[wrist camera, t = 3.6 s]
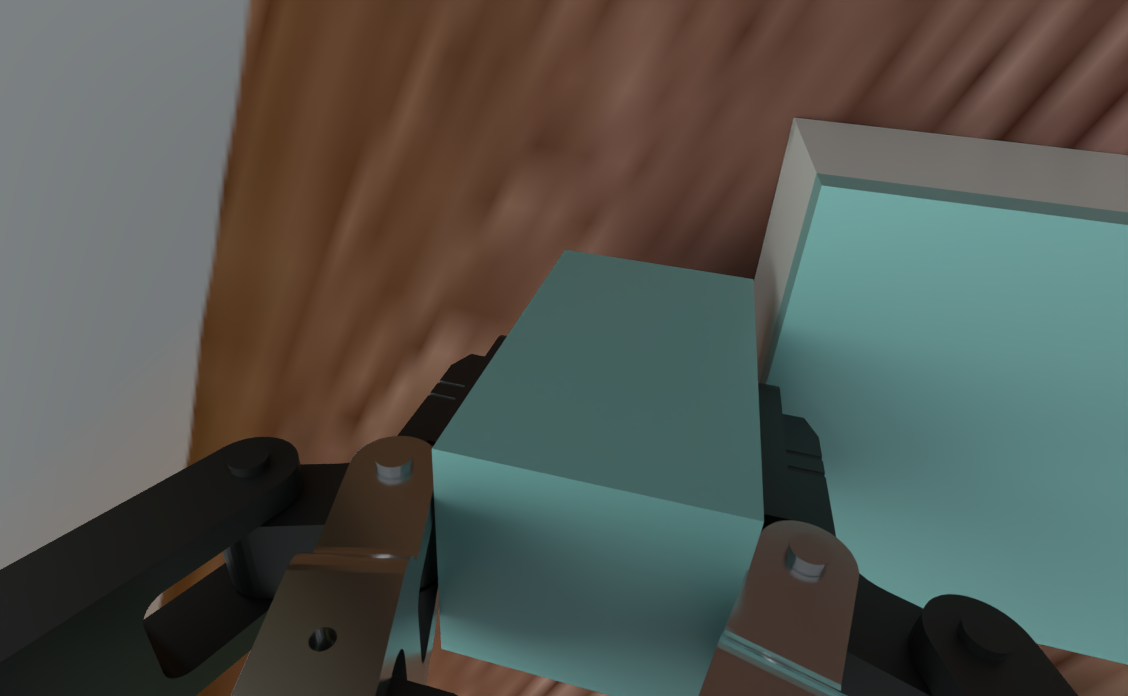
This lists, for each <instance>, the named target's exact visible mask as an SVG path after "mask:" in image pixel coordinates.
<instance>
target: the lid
mask: <svg viewBox="0 0 1128 696" xmlns="http://www.w3.org/2000/svg"><path fill="white" fill-rule="evenodd" d="M760 383H763V384H769V385H774V386H779V388H780V394H781V404H782V414H787V415H792V416H797V417H802V418H805V420H806V421H807V422H808V424H809V425H810V426H811V428H812V429H813V430H814V432H815V433H816V434H817V435H818V437H819V441H820V447H821V453H822V461H823V464H824V470H825V476H824V477H826V481H827V487H828V493H829V499H830V504H831V510H832V516H833V522H834V527H835V533H836V538H838V539H839V540H840V541H841V542H842V543H843V544H844V545H845V546H846V547H847V548H848V549H849V550H850V551H851V553H852V555H853V556H854V558H855V560H856V562H857V565H858V569H859V573H860V574H861V575H862V576H864V577H865V578H866V579H868V580H869V581H870V582H872V583H874V584H875V585H877V586H878V587H880V588H882V589H884V590H886V591H888V592H890V593H892V594H894V595H896V596H898V597H900V598H902V599H905V600H907V601H909V602H911V603H913V604H915V605H917V606H919V607H921V608H924V606H925V605H926V604H927V602H928V601H929V600H931V599H932V598H934V597H936V596H939V595H945V594H957V595H963V596H968V597H971V598H975V599H978V600H980V601H982V602H985V603H987V604H989V605H991V606H993V607H995V608H997V609H998V610H1000V611H1001V612H1003V613H1005V614H1006V615H1008V616H1009V617H1010V618H1011V619H1013V620H1014V621H1015V622H1017V623H1018V624H1019V625H1020V626H1021V627H1022V628H1023V629H1024V630H1025V631H1026V632H1027V633H1028V634H1029V635H1030V637H1031V638H1032V639H1033V640H1034V641H1035V643H1037V644H1042V645H1046V646H1050V647H1054V648H1059V649H1063V650H1067V651H1071V652H1076V653H1080V654H1084V655H1088V656H1093V657H1097V658H1101V659H1105V660H1110V661H1114V662H1118V663H1122V664H1127V665H1128V212H1120V211H1112V210H1104V209H1096V208H1088V207H1080V206H1072V205H1064V204H1057V203H1049V202H1041V201H1033V200H1025V199H1017V198H1009V197H1001V196H993V195H986V194H978V193H970V192H962V191H954V190H946V189H938V188H930V187H922V186H914V185H907V184H899V183H891V182H883V181H875V180H867V179H859V178H851V177H843V176H836V175H828V174H820V173H817V174H816V177H815V181H814V185H813V188H812V192H811V196H810V199H809V203H808V207H807V210H806V214H805V218H804V221H803V225H802V229H801V232H800V236H799V240H798V243H797V247H796V251H795V254H794V258H793V262H792V265H791V269H790V273H789V276H788V280H787V284H786V287H785V291H784V295H783V298H782V302H781V306H780V309H779V313H778V317H777V320H776V324H775V328H774V331H773V335H772V339H771V342H770V346H769V350H768V353H767V357H766V361H765V364H764V368H763V372H762V375H761V379H760ZM432 464H433V485H434V506H435V526H436V547H437V568H438V588H439V609H440V630H441V649H444V650H448V651H451V652H455V653H459V654H462V655H466V656H469V657H473V658H477V659H480V660H484V661H487V662H491V663H495V664H498V665H502V666H506V667H509V668H513V669H516V670H520V671H524V672H527V673H531V674H534V675H538V676H542V677H545V678H549V679H552V680H556V681H560V682H563V683H567V684H571V685H574V686H578V687H581V688H585V689H589V690H592V691H596V692H599V693H603V694H607V695H610V696H699V693H700V690H701V688H702V685H703V682H704V680H705V677H706V674H707V671H708V669H709V666H710V663H711V661H712V658H713V655H714V652H715V650H716V647H717V645H718V642H719V639H720V637H721V635H722V634H723V633H724V630H725V627H726V625H727V622H728V619H729V616H730V614H731V611H732V608H733V605H734V603H735V600H736V597H737V595H738V592H739V589H740V586H741V584H742V581H743V578H744V576H745V573H746V570H749V567H750V564H751V561H752V558H753V555H754V552H755V549H756V546H757V543H758V539H759V536H760V533H761V530H762V527H763V524H764V507H763V484H762V461H761V439H760V416H759V393H758V370H757V348H756V325H755V302H754V279H749V278H743V277H736V276H730V275H724V274H717V273H711V272H704V271H698V270H692V269H685V268H679V267H673V266H666V265H660V264H653V263H647V262H641V261H634V260H628V259H621V258H615V257H609V256H602V255H596V254H590V253H583V252H577V251H570V250H565V251H564V252H563V254H562V255H561V257H560V258H559V260H558V261H557V263H556V264H555V266H554V267H553V269H552V270H551V272H550V273H549V275H548V276H547V278H546V279H545V281H544V282H543V283H542V285H541V286H540V288H539V289H538V291H537V292H536V294H535V295H534V297H533V298H532V300H531V301H530V303H529V304H528V306H527V307H526V309H525V310H524V312H523V313H522V315H521V316H520V318H519V319H518V321H517V322H516V324H515V325H514V327H513V328H512V330H511V331H510V333H509V334H508V336H507V337H506V339H505V340H504V342H503V343H502V345H501V346H500V348H499V349H498V351H497V352H496V354H495V355H494V357H493V358H492V360H491V361H490V363H489V364H488V365H487V367H486V368H485V370H484V371H483V373H482V374H481V376H480V377H479V379H478V380H477V382H476V383H475V385H474V386H473V388H472V389H471V391H470V392H469V394H468V395H467V397H466V398H465V400H464V401H463V403H462V404H461V406H460V407H459V409H458V410H457V412H456V413H455V415H454V416H453V418H452V419H451V421H450V422H449V424H448V425H447V427H446V428H445V430H444V431H443V433H442V434H441V436H440V437H439V439H438V440H437V442H436V443H435V445H434V446H433V447H432Z"/></svg>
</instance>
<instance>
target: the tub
mask: <svg viewBox="0 0 1128 696" xmlns="http://www.w3.org/2000/svg"><path fill="white" fill-rule="evenodd" d="M817 173H820V174H828V175H836V176H843V177H851V178H859V179H867V180H875V181H883V182H891V183H899V184H907V185H914V186H922V187H930V188H938V189H946V190H954V191H962V192H970V193H978V194H986V195H993V196H1001V197H1009V198H1017V199H1025V200H1033V201H1041V202H1049V203H1057V204H1064V205H1072V206H1080V207H1088V208H1096V209H1104V210H1112V211H1120V212H1128V155H1121V154H1112V153H1103V152H1095V151H1086V150H1077V149H1068V148H1059V147H1050V146H1041V145H1033V144H1024V143H1015V142H1006V141H997V140H988V139H980V138H971V137H962V136H953V135H944V134H935V133H926V132H918V131H909V130H900V129H891V128H882V127H873V126H865V125H856V124H847V123H838V122H829V121H820V120H812V119H803V118H794V119H793V123H792V127H791V131H790V135H789V139H788V143H787V148H786V152H785V156H784V160H783V164H782V168H781V172H780V176H779V180H778V184H777V189H776V193H775V197H774V201H773V205H772V209H771V213H770V217H769V221H768V226H767V230H766V234H765V238H764V242H763V246H762V250H761V254H760V258H759V263H758V267H757V271H756V275H755V279H754V302H755V325H756V348H757V370H758V383H760V379H761V375H762V372H763V368H764V364H765V361H766V357H767V353H768V350H769V346H770V342H771V339H772V335H773V331H774V328H775V324H776V320H777V317H778V313H779V309H780V306H781V302H782V298H783V295H784V291H785V287H786V284H787V280H788V276H789V273H790V269H791V265H792V262H793V258H794V254H795V251H796V247H797V243H798V240H799V236H800V232H801V229H802V225H803V221H804V218H805V214H806V210H807V207H808V203H809V199H810V196H811V192H812V188H813V185H814V181H815V177H816V174H817Z"/></svg>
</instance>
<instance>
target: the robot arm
mask: <svg viewBox="0 0 1128 696" xmlns="http://www.w3.org/2000/svg"><path fill="white" fill-rule="evenodd" d="M506 337H507V336H504V335H500V336H499V337H498V339H497V340H496V341H495V343H494V344H493V346H492V347H491V349H490V350H489V352H488V353H487V354H486V356H485V357H484V356H479V355H474V354H470V355H468V356H467V357H465V358H463V359H461V360H460V361H458V362H456V363H454V364H453V365H451V366H450V368H449V369H448V370H447V372H446V373H445V374H444V375H443V377H442V378H441V379H440V383H437V385H436V386H435V387H434V389H433V390H432V391H431V394H430V396H429V395H428V396H427V398H426V399H425V400H424V402H423V403H422V404H421V406H420V407H419V408H418V410H417V411H416V412H415V413H414V415H413V416H412V417H411V419H410V420H409V421H408V423H407V424H406V425H405V427H404V428H403V429H402V430H401V432H400V433H399V434H398V436H392V437H386V438H381V439H378V440H375V441H373V442H371V443H369V444H367V445H365V446H364V447H362V448H361V449H360V450H359V451H357V452H356V454H355V455H354V456H353V457H352V459H351V461H350V463H342V464H304V465H300V461H299V456H298V452H297V450H296V448H295V447H294V446H293V445H292V444H291V443H289V442H287V441H285V440H283V439H279V438H274V437H254V438H248V439H244V440H240V441H237V442H234V443H232V444H229V445H227V446H225V447H223V448H221V449H220V450H218V451H216V452H214V453H212V454H211V455H209V456H207V457H205V458H203V459H201V460H200V461H198V462H196V463H194V464H192V465H190V466H189V467H187V468H185V469H183V470H181V471H180V472H178V473H176V474H174V475H172V476H170V477H169V478H167V479H165V480H163V481H161V482H160V483H158V484H156V485H154V486H152V487H150V488H149V489H147V490H145V491H143V492H141V493H140V494H138V495H136V496H134V497H132V498H130V499H129V500H127V501H125V502H123V503H121V504H119V505H118V506H116V507H114V508H112V509H111V510H109V511H107V512H105V513H103V514H101V515H99V516H98V517H96V518H94V519H92V520H90V521H88V522H87V523H85V524H83V525H81V526H79V527H78V528H76V529H74V530H72V531H70V532H69V533H67V534H65V535H63V536H61V537H59V538H58V539H56V540H54V541H52V542H50V543H48V544H47V545H45V546H43V547H41V548H39V549H38V550H36V551H34V552H32V553H30V554H28V555H27V556H25V557H23V558H21V559H19V560H17V561H16V562H14V563H12V564H10V565H8V566H7V567H5V568H3V569H1V570H0V696H196V695H197V694H198V693H199V692H201V691H202V690H203V689H204V688H205V687H207V686H208V685H209V684H210V683H211V682H213V681H214V680H215V679H216V678H217V677H219V676H220V675H221V674H222V673H223V672H225V671H226V670H227V669H228V668H229V667H231V666H232V665H233V664H234V663H235V662H237V661H238V660H239V659H240V658H241V657H243V656H244V655H245V654H246V653H248V652H249V651H250V650H251V651H250V653H249V656H248V658H247V660H246V662H245V665H244V667H243V669H242V672H241V674H240V676H239V678H238V681H237V683H236V685H235V687H234V690H233V692H232V694H231V696H457V695H455V694H454V693H450V692H447V691H443V690H440V689H436V688H433V687H429V686H426V682H427V675H428V669H429V663H430V657H431V651H432V646H433V640H434V634H435V628H436V622H437V617H438V611H439V588H438V568H437V547H436V526H435V506H434V485H433V464H432V447H433V446H434V445H435V443H436V442H437V440H438V439H439V437H440V436H441V434H442V433H443V431H444V430H445V428H446V427H447V425H448V424H449V422H450V421H451V419H452V418H453V416H454V415H455V413H456V412H457V410H458V409H459V407H460V406H461V404H462V403H463V401H464V400H465V398H466V397H467V395H468V394H469V392H470V391H471V389H472V388H473V386H474V385H475V383H476V382H477V380H478V379H479V377H480V376H481V374H482V373H483V371H484V370H485V368H486V367H487V365H488V364H489V363H490V361H491V360H492V358H493V357H494V355H495V354H496V352H497V351H498V349H499V348H500V346H501V345H502V343H503V342H504V340H505V339H506ZM758 393H759V416H760V439H761V461H762V484H763V507H764V524H763V527H762V530H761V533H760V536H759V539H758V543H757V546H756V549H755V552H754V555H753V558H752V561H751V564H750V567H749V570H746V573H745V576H744V578H743V581H742V584H741V586H740V589H739V592H738V595H737V597H736V600H735V603H734V605H733V608H732V611H731V614H730V616H729V619H728V622H727V625H726V627H725V630H724V633H723V634H722V635H721V637H720V639H719V642H718V645H717V647H716V650H715V652H714V655H713V658H712V661H711V663H710V666H709V669H708V671H707V674H706V677H705V680H704V682H703V685H702V688H701V690H700V693H699V696H1078V695H1077V694H1076V693H1075V691H1074V690H1073V689H1072V688H1071V686H1070V685H1069V684H1068V683H1067V681H1066V680H1065V679H1064V678H1063V676H1062V675H1061V674H1060V673H1059V671H1058V670H1057V669H1056V668H1055V666H1054V665H1053V664H1052V663H1051V661H1050V660H1049V659H1048V658H1047V656H1046V655H1045V654H1044V653H1043V651H1042V650H1041V649H1040V648H1039V646H1038V645H1037V644H1036V643H1035V641H1034V640H1033V639H1032V638H1031V637H1030V635H1029V634H1028V633H1027V632H1026V631H1025V630H1024V629H1023V628H1022V627H1021V626H1020V625H1019V624H1018V623H1017V622H1015V621H1014V620H1013V619H1011V618H1010V617H1009V616H1008V615H1006V614H1005V613H1003V612H1001V611H1000V610H998V609H997V608H995V607H993V606H991V605H989V604H987V603H985V602H982V601H980V600H978V599H975V598H971V597H968V596H963V595H957V594H945V595H939V596H936V597H934V598H932V599H931V600H929V601H928V602H927V604H926V605H925V606H924V608H921V607H919V606H917V605H915V604H913V603H911V602H909V601H907V600H905V599H902V598H900V597H898V596H896V595H894V594H892V593H890V592H888V591H886V590H884V589H882V588H880V587H878V586H877V585H875V584H874V583H872V582H870V581H869V580H868V579H866V578H865V577H864V576H862V575H861V574H860V573H859V569H858V565H857V562H856V560H855V558H854V556H853V555H852V553H851V551H850V550H849V549H848V548H847V547H846V546H845V545H844V544H843V543H842V542H841V541H840V540H839V539H838V538H836V533H835V527H834V522H833V516H832V510H831V504H830V499H829V493H828V487H827V481H826V477H824V476H825V470H824V464H823V461H822V453H821V447H820V441H819V437H818V435H817V434H816V433H815V432H814V430H813V429H812V428H811V426H810V425H809V424H808V422H807V421H806V420H805V418H802V417H797V416H792V415H787V414H782V404H781V394H780V388H779V386H774V385H769V384H763V383H758ZM222 551H223V554H224V558H225V561H226V563H225V564H223V565H222V566H220V567H219V568H217V569H216V570H215V571H213V572H212V573H210V574H209V575H207V576H206V577H204V578H203V579H202V580H200V581H199V582H197V583H196V584H194V585H193V586H192V587H190V588H189V589H187V590H186V591H184V592H183V593H181V594H180V595H179V596H177V597H176V598H174V599H173V600H171V601H170V602H169V603H167V604H166V605H164V606H163V607H161V608H160V609H159V610H157V611H156V612H154V613H153V614H151V615H150V616H149V617H147V618H146V619H144V616H145V613H146V611H147V609H148V607H149V606H150V604H151V603H152V602H153V601H154V600H155V599H156V598H157V597H158V596H159V595H160V594H161V593H162V592H164V591H165V590H166V589H168V588H169V587H171V586H172V585H174V584H175V583H177V582H178V581H180V580H181V579H183V578H184V577H186V576H187V575H189V574H190V573H192V572H193V571H194V570H196V569H197V568H199V567H200V566H202V565H203V564H205V563H206V562H208V561H209V560H211V559H212V558H214V557H215V556H217V555H218V554H219V553H221V552H222Z"/></svg>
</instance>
